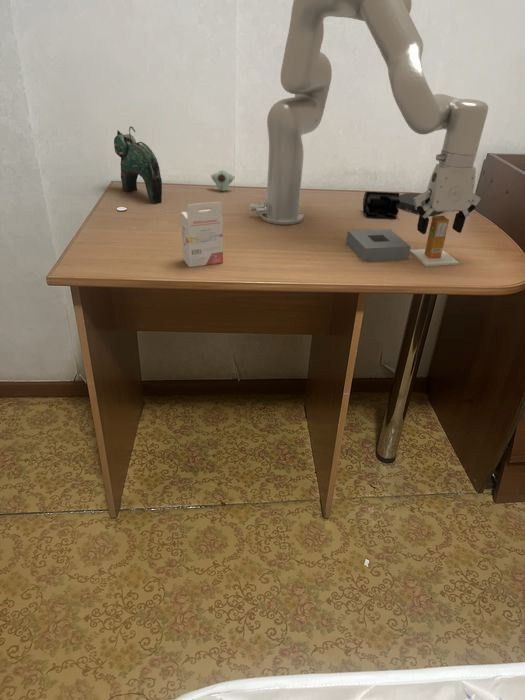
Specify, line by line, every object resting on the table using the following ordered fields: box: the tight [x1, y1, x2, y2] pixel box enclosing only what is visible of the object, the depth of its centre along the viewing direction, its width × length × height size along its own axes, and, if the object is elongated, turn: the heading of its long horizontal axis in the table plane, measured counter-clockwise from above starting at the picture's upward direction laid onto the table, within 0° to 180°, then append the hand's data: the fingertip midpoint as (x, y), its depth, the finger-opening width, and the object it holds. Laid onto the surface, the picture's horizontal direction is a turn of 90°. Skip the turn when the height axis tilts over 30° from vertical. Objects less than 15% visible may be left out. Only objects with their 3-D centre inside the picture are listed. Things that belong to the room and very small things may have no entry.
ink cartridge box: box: [180, 201, 224, 268], centre depth 119 cm, size 9×5×15 cm, turn 114°
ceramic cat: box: [113, 126, 163, 205], centre depth 157 cm, size 20×6×20 cm, turn 43°
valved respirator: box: [210, 169, 236, 192], centre depth 168 cm, size 8×4×7 cm, turn 85°
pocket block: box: [345, 228, 412, 263], centre depth 132 cm, size 12×12×4 cm
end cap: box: [362, 190, 400, 220], centre depth 156 cm, size 10×7×7 cm
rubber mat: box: [409, 248, 460, 267], centre depth 131 cm, size 9×9×1 cm
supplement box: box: [424, 215, 450, 258], centre depth 128 cm, size 3×3×10 cm
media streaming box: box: [397, 192, 443, 217], centre depth 166 cm, size 15×15×3 cm
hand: (439, 231), depth 128 cm, fingers open, 9 cm apart
